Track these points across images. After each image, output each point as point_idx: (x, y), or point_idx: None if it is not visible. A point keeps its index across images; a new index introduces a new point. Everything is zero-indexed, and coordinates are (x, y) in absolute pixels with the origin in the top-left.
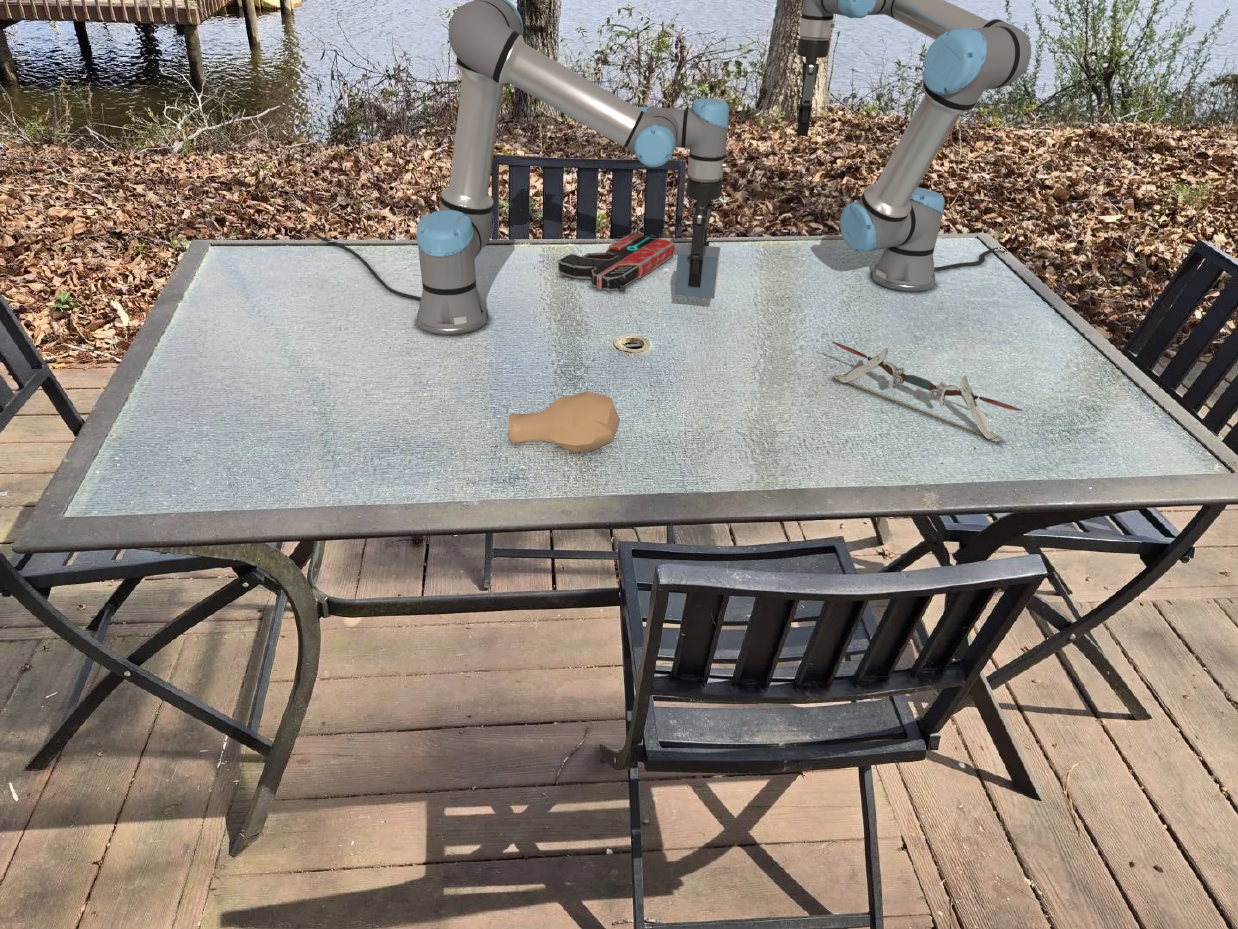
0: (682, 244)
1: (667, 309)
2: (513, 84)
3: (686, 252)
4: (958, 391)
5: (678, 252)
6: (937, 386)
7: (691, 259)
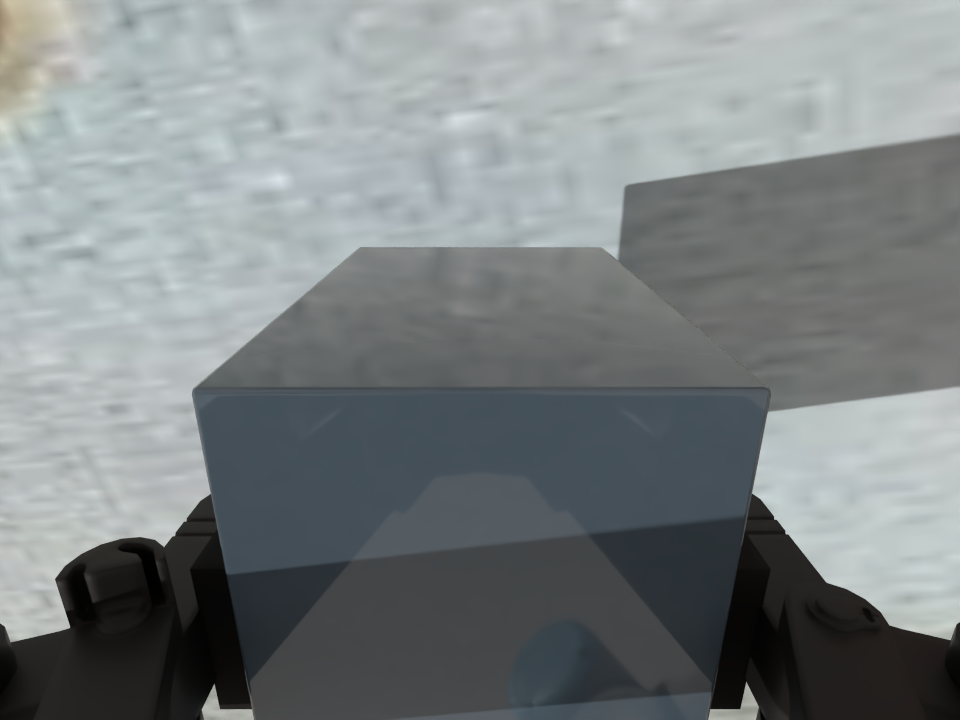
0: (719, 418)
1: (519, 167)
2: None
3: (309, 522)
4: None
5: (250, 396)
6: None
7: (203, 568)
